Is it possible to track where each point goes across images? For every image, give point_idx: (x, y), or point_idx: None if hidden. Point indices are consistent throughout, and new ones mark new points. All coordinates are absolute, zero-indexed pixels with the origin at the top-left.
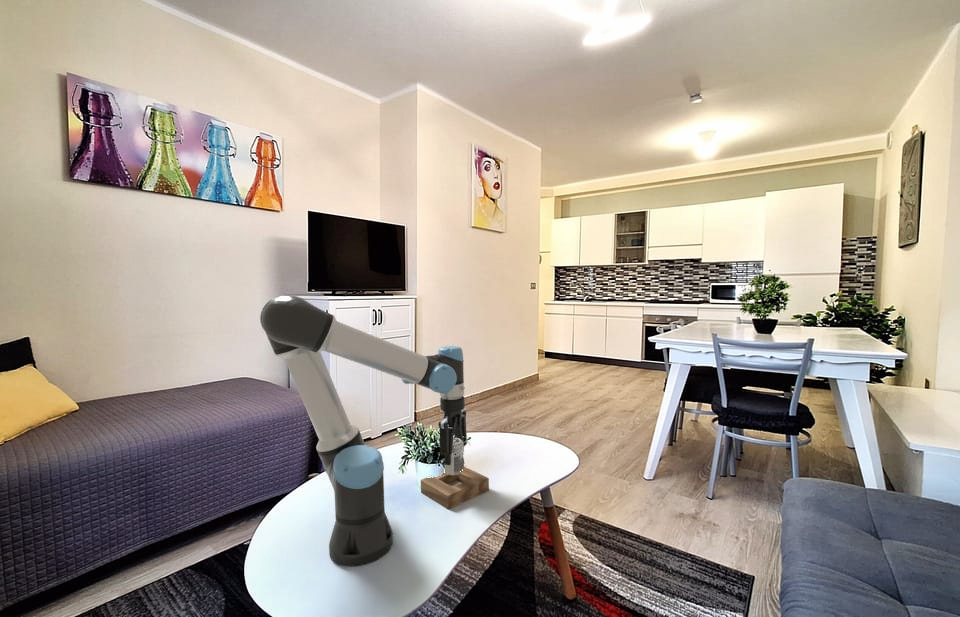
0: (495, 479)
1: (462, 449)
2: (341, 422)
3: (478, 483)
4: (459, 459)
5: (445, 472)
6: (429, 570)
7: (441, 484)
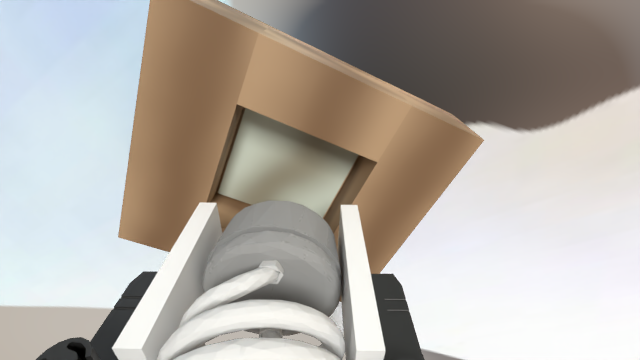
0: (445, 253)
1: None
2: None
3: None
4: (259, 332)
5: (197, 210)
6: None
7: (189, 161)
